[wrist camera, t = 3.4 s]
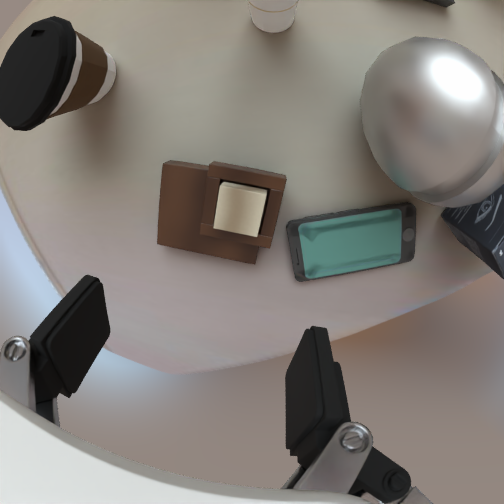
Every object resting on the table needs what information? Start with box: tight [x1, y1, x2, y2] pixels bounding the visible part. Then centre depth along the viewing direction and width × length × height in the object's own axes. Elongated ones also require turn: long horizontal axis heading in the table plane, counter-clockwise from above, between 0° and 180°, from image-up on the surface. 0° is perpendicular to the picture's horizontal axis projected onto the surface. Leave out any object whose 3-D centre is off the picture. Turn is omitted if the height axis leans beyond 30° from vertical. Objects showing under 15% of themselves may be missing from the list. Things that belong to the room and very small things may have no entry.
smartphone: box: [286, 202, 416, 282], centre depth 29 cm, size 7×1×15 cm
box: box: [441, 184, 504, 279], centre depth 21 cm, size 8×6×11 cm
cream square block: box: [213, 182, 267, 237], centre depth 24 cm, size 4×4×2 cm
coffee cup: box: [0, 16, 116, 131], centre depth 17 cm, size 11×11×12 cm
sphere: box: [360, 37, 504, 208], centre depth 16 cm, size 15×14×15 cm
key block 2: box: [157, 160, 287, 264], centre depth 27 cm, size 12×10×4 cm
